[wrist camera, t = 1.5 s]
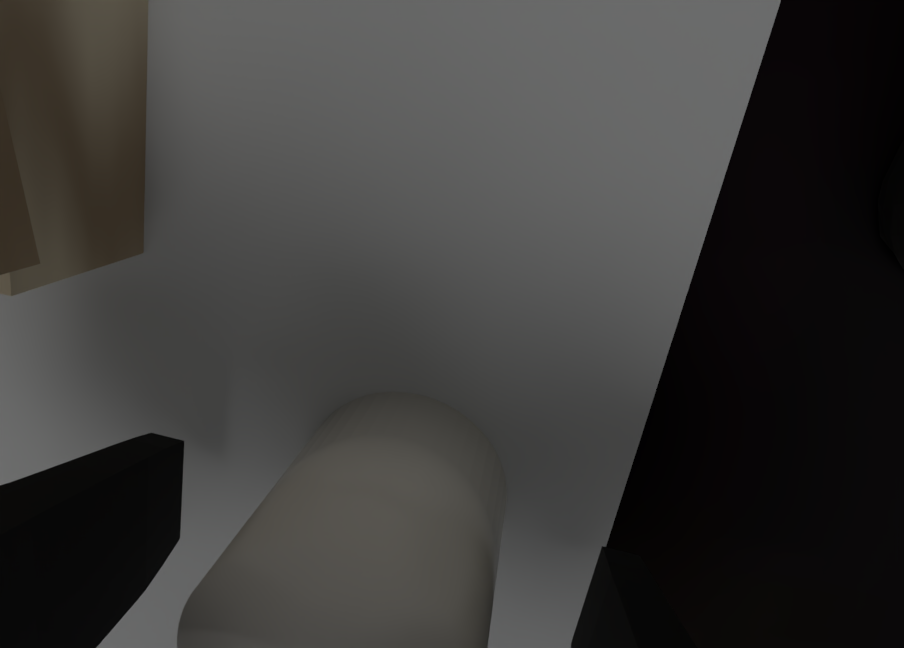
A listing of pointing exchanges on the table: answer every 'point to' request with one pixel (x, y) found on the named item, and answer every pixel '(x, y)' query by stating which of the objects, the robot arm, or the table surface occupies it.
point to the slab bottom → (76, 130)
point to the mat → (397, 259)
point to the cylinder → (365, 539)
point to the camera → (893, 206)
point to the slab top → (13, 208)
